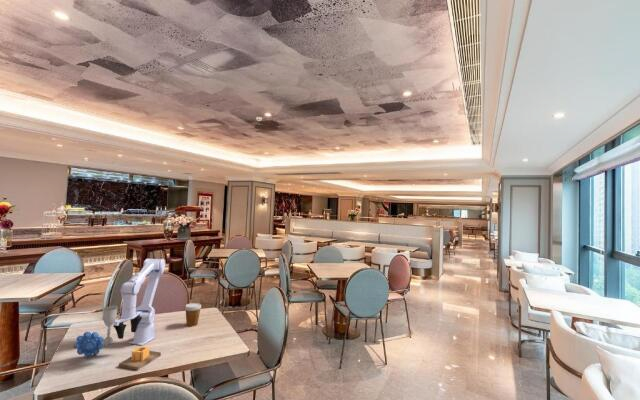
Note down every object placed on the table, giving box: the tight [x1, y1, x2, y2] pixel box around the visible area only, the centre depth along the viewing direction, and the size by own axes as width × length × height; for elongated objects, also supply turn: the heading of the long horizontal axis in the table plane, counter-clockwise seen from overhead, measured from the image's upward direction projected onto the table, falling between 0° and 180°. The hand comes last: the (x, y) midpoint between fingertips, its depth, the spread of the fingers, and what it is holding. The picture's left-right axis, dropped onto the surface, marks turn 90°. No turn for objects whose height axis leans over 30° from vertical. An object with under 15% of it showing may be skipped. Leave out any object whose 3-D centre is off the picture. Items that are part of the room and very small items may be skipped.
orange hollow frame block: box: [131, 345, 151, 361], centre depth 140 cm, size 5×5×4 cm
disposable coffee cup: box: [184, 302, 202, 327], centre depth 184 cm, size 10×10×12 cm
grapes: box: [73, 331, 105, 358], centre depth 141 cm, size 12×7×12 cm, turn 126°
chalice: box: [101, 305, 119, 346], centre depth 156 cm, size 7×7×18 cm
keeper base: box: [118, 349, 162, 371], centre depth 140 cm, size 14×10×5 cm
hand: (127, 335), depth 145 cm, fingers open, 7 cm apart
